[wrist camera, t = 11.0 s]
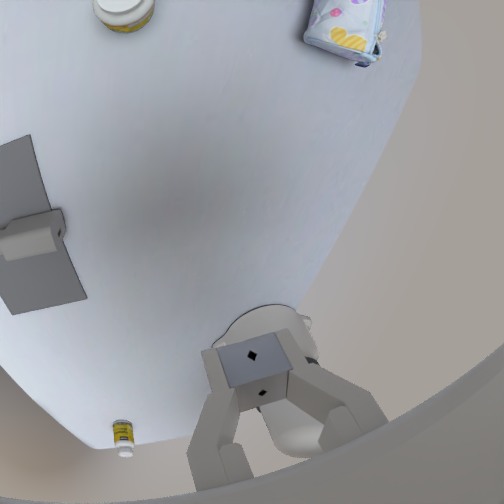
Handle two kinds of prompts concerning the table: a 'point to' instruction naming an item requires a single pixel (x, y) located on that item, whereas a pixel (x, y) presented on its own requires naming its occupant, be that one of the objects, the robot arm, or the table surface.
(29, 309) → the desk mat
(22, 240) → the power adapter
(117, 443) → the supplement bottle
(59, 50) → the table surface
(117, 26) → the supplement bottle
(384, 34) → the pencil case
